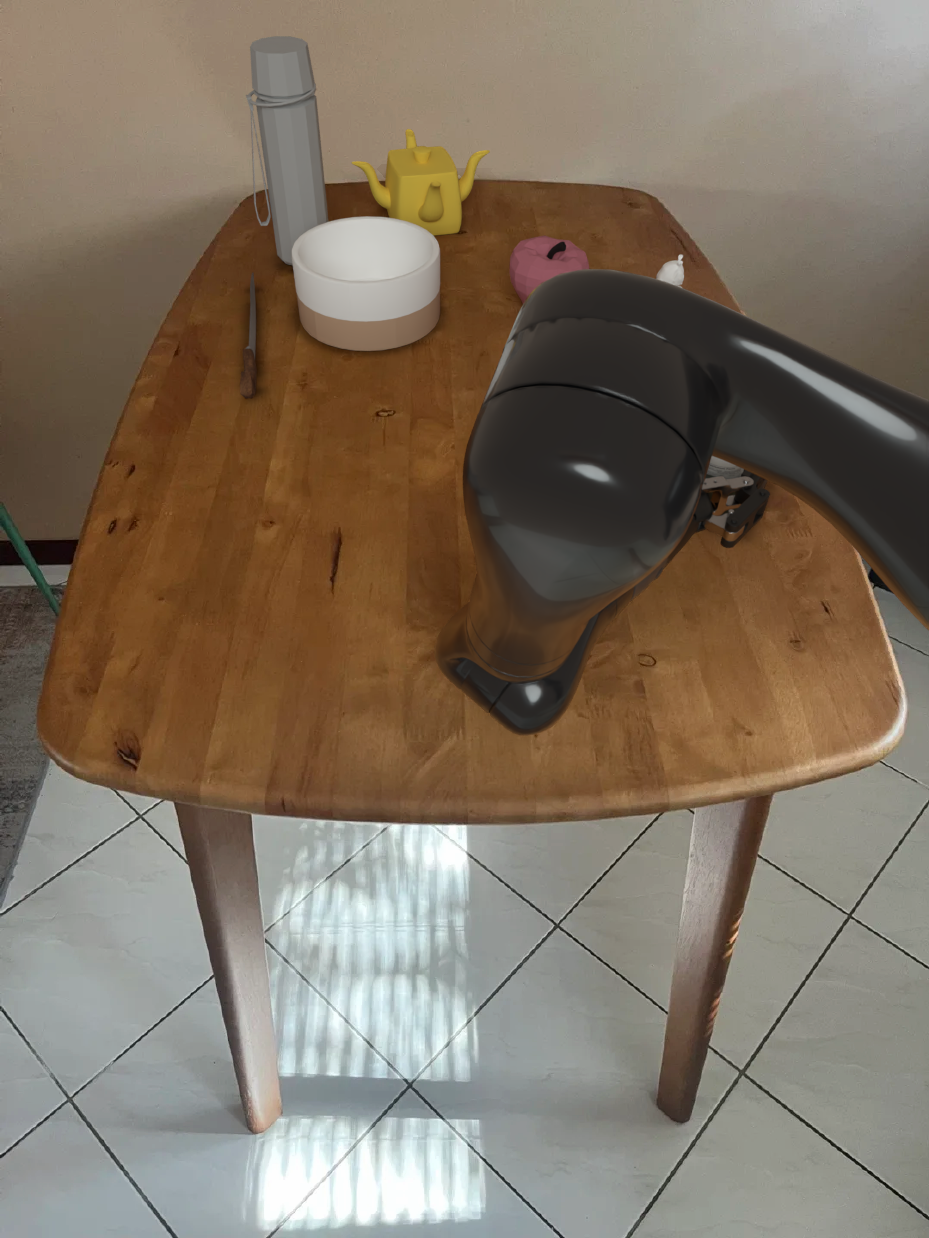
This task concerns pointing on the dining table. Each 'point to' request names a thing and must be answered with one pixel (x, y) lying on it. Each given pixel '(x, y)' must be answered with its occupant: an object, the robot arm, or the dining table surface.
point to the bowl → (367, 282)
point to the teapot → (423, 186)
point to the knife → (250, 351)
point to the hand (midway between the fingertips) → (716, 446)
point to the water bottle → (288, 138)
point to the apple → (543, 262)
